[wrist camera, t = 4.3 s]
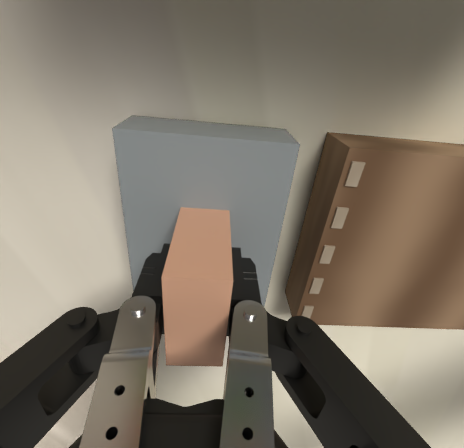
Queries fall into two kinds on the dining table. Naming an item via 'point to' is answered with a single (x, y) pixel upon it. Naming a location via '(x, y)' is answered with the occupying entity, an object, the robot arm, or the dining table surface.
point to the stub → (202, 217)
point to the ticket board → (383, 236)
